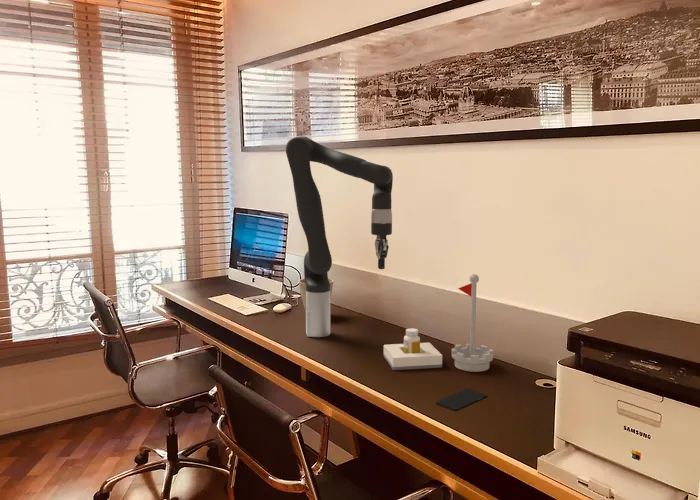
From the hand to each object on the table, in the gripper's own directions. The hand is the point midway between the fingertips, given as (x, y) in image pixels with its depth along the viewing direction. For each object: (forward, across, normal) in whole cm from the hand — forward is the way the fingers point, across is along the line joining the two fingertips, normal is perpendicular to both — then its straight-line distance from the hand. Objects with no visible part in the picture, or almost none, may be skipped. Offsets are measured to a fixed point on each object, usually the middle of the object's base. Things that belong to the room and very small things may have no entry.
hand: (381, 268), depth 207 cm
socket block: (+27, +25, +5) cm, 37 cm away
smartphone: (+28, +58, +10) cm, 65 cm away
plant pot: (+27, -39, -20) cm, 52 cm away
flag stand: (+27, +32, +23) cm, 48 cm away
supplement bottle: (+26, +25, +5) cm, 36 cm away
